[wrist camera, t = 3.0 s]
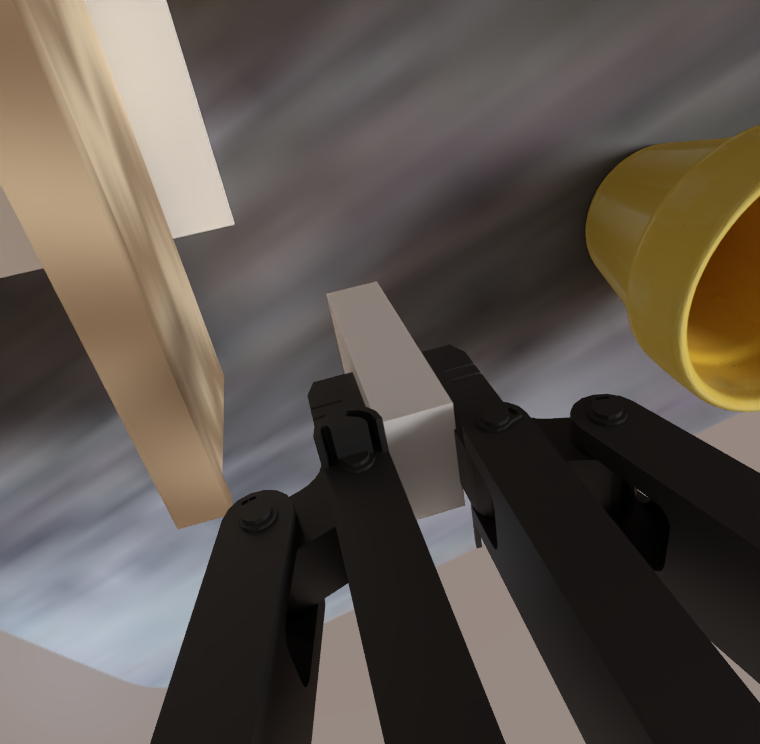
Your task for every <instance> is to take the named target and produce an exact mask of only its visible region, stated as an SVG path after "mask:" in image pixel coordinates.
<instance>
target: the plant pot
mask: <svg viewBox="0 0 760 744" xmlns="http://www.w3.org/2000/svg"><path fill="white" fill-rule="evenodd" d="M586 243H587V248H588V251H589V254H590V257H591V259H592V261H593V263H594V264H595V265H596V267H597V268H598V270H599V271H600V272H601V274H602V275H603V276H604V278H605V279H606V280H607V282H608V283H609V284H610V286H611V287H612V288H613V290H614V291H615V292H616V294H617V295H618V296H619V298H620V299H621V300H622V302H623V303H624V305H625V306H626V307H627V312H628V318H629V323H630V327H631V329H632V332H633V334H634V337H635V338H636V340H637V342H638V344H639V345H640V347H641V348H642V349H643V351H644V352H645V353H646V354H647V355H648V356H649V357H650V358H651V359H652V360H653V361H654V362H655V363H656V364H658V365H659V366H660V367H661V368H662V369H663V370H664V371H665V372H666V373H668V374H669V375H670V376H671V377H673V378H674V379H675V380H676V381H678V382H679V383H680V384H681V385H682V386H684V387H685V388H686V389H688V390H689V391H690V392H691V393H693V394H694V395H695V396H697V397H698V398H700V399H701V400H703V401H705V402H706V403H708V404H711V405H713V406H715V407H719V408H722V409H725V410H731V411H740V412H754V411H760V125H757V126H755V127H752V128H750V129H747V130H745V131H743V132H741V133H739V134H737V135H735V136H733V137H731V138H720V139H710V140H698V141H687V142H675V143H663V144H656V145H652V146H649V147H646V148H643V149H641V150H639V151H637V152H635V153H633V154H632V155H630V156H628V157H627V158H626V159H624V160H623V161H622V162H620V163H619V164H618V165H617V166H616V167H615V168H614V169H613V170H612V171H611V172H610V173H609V174H608V175H607V176H606V178H605V179H604V180H603V181H602V183H601V184H600V186H599V188H598V189H597V191H596V193H595V195H594V197H593V200H592V202H591V205H590V208H589V211H588V215H587V221H586Z"/></svg>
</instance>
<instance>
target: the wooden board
mask: <svg viewBox="0 0 760 744" xmlns="http://www.w3.org/2000/svg"><path fill="white" fill-rule="evenodd" d="M0 184H1V186H2V188H3V190H4V192H5V194H6V196H7V198H8V200H9V202H10V204H11V206H12V208H13V210H14V211H15V213H16V215H17V217H18V219H19V221H20V223H21V225H22V227H23V229H24V231H25V233H26V235H27V237H28V239H29V241H30V243H31V245H32V247H33V248H34V250H35V252H36V254H37V256H38V258H39V260H40V262H41V264H42V266H43V268H44V270H45V272H46V274H47V276H48V278H49V280H50V282H51V283H52V285H53V287H54V289H55V291H56V293H57V295H58V297H59V299H60V301H61V303H62V305H63V307H64V309H65V311H66V313H67V315H68V317H69V319H70V320H71V322H72V324H73V326H74V328H75V330H76V332H77V334H78V336H79V338H80V340H81V342H82V344H83V346H84V348H85V350H86V352H87V354H88V356H89V357H90V359H91V361H92V363H93V365H94V367H95V369H96V371H97V373H98V375H99V377H100V379H101V381H102V383H103V385H104V387H105V389H106V391H107V393H108V394H109V396H110V398H111V400H112V402H113V404H114V406H115V408H116V410H117V412H118V414H119V416H120V418H121V420H122V422H123V424H124V426H125V428H126V430H127V431H128V433H129V435H130V437H131V439H132V441H133V443H134V445H135V447H136V449H137V451H138V453H139V455H140V457H141V459H142V461H143V463H144V465H145V467H146V468H147V470H148V472H149V474H150V476H151V478H152V480H153V482H154V484H155V486H156V488H157V490H158V492H159V494H160V496H161V498H162V500H163V502H164V504H165V505H166V507H167V509H168V511H169V513H170V515H171V517H172V519H173V521H174V523H175V525H176V527H177V529H181V528H184V527H188V526H192V525H195V524H199V523H202V522H206V521H209V520H213V519H217V518H220V517H224V516H225V514H226V512H227V511H228V509H229V508H230V507H231V506H232V496H231V493H230V491H229V488H228V486H227V484H226V481H225V479H224V477H223V474H222V460H223V411H224V375H223V372H222V369H221V367H220V364H219V361H218V358H217V356H216V353H215V350H214V348H213V345H212V342H211V340H210V337H209V334H208V332H207V329H206V326H205V324H204V321H203V318H202V315H201V313H200V310H199V307H198V305H197V302H196V299H195V297H194V294H193V291H192V289H191V286H190V283H189V280H188V278H187V275H186V272H185V270H184V267H183V264H182V262H181V259H180V256H179V254H178V251H177V248H176V245H175V243H174V240H173V237H172V235H171V232H170V229H169V227H168V224H167V221H166V219H165V216H164V213H163V211H162V208H161V205H160V202H159V200H158V197H157V194H156V192H155V189H154V186H153V184H152V181H151V178H150V176H149V173H148V170H147V167H146V165H145V162H144V159H143V157H142V154H141V151H140V149H139V146H138V143H137V141H136V138H135V135H134V132H133V130H132V127H131V124H130V122H129V119H128V116H127V114H126V111H125V108H124V106H123V103H122V100H121V98H120V95H119V92H118V89H117V87H116V84H115V81H114V79H113V76H112V73H111V71H110V68H109V65H108V63H107V60H106V57H105V54H104V52H103V49H102V46H101V44H100V41H99V38H98V36H97V33H96V30H95V28H94V25H93V22H92V19H91V17H90V14H89V11H88V9H87V6H86V3H85V1H84V0H0Z"/></svg>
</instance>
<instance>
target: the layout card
mask: <svg viewBox="0 0 760 744" xmlns="http://www.w3.org/2000/svg"><path fill="white" fill-rule="evenodd" d="M84 1H85V3H86V6H87V9H88V11H89V14H90V17H91V19H92V22H93V25H94V28H95V30H96V33H97V36H98V38H99V41H100V44H101V46H102V49H103V52H104V54H105V57H106V60H107V63H108V65H109V68H110V71H111V73H112V76H113V79H114V81H115V84H116V87H117V89H118V92H119V95H120V98H121V100H122V103H123V106H124V108H125V111H126V114H127V116H128V119H129V122H130V124H131V127H132V130H133V132H134V135H135V138H136V141H137V143H138V146H139V149H140V151H141V154H142V157H143V159H144V162H145V165H146V167H147V170H148V173H149V176H150V178H151V181H152V184H153V186H154V189H155V192H156V194H157V197H158V200H159V202H160V205H161V208H162V211H163V213H164V216H165V219H166V221H167V224H168V227H169V229H170V232H171V235H172V237H173V239H174V238H178V237H182V236H187V235H191V234H196V233H200V232H204V231H209V230H213V229H218V228H222V227H226V226H231V225H234V220H233V216H232V213H231V210H230V207H229V203H228V200H227V197H226V194H225V190H224V187H223V184H222V181H221V177H220V174H219V171H218V168H217V164H216V161H215V158H214V154H213V151H212V148H211V145H210V141H209V138H208V135H207V132H206V128H205V125H204V122H203V119H202V115H201V112H200V109H199V106H198V102H197V99H196V96H195V93H194V89H193V86H192V83H191V79H190V76H189V73H188V70H187V66H186V63H185V60H184V57H183V53H182V50H181V47H180V44H179V40H178V37H177V34H176V31H175V27H174V24H173V21H172V17H171V14H170V11H169V8H168V4H167V1H166V0H84ZM42 268H43V266H42V264H41V262H40V260H39V258H38V256H37V254H36V252H35V250H34V248H33V247H32V245H31V243H30V241H29V239H28V237H27V235H26V233H25V231H24V229H23V227H22V225H21V223H20V221H19V219H18V217H17V215H16V213H15V211H14V210H13V208H12V206H11V204H10V202H9V200H8V198H7V196H6V194H5V192H4V190H3V188H2V186H1V184H0V278H3V277H7V276H12V275H16V274H20V273H25V272H29V271H34V270H38V269H42Z"/></svg>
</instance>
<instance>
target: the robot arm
mask: <svg viewBox="0 0 760 744" xmlns="http://www.w3.org/2000/svg"><path fill="white" fill-rule="evenodd" d="M326 295H327V300H328V304H329V308H330V312H331V317H332V321H333V325H334V329H335V334H336V338H337V342H338V346H339V351H340V355H341V359H342V364H343V368H344V372H345V374H343V375H339V376H335V377H332V378H328V379H324V380H320V381H317V382H313V384H312V387H311V389H310V391H309V394H308V399H309V404H310V408H311V413H312V417H313V422H314V426H315V428H314V435H313V437H314V441H315V444H316V448H317V451H318V455H319V458H320V461H321V465H322V466H321V469H320V472H319V473H318V475H317V476H316V478H315V479H314V480H313V481H312V482H311V483H310V484H309V485H308V486H306V487H305V488H303V489H302V490H300V491H299V492H297V493H295V494H293V495H292V496H290V497H288V495H287V494H284V493H282V492H279V491H277V490H263V491H259V492H255V493H251V494H249V495H247V496H245V497H243V498H241V499H240V500H238V501H237V502H236V503H235V504H234V505H233V506H231V507H230V508H229V509H228V511H227V512H226V514H225V516H224V518H223V520H222V522H221V525H220V528H219V531H218V535H217V538H216V541H215V544H214V547H213V550H212V553H211V556H210V559H209V563H208V566H207V569H206V572H205V575H204V578H203V581H202V584H201V587H200V590H199V594H198V597H197V600H196V603H195V606H194V609H193V612H192V615H191V618H190V621H189V625H188V628H187V631H186V634H185V637H184V640H183V643H182V646H181V649H180V653H179V656H178V659H177V662H176V665H175V668H174V671H173V674H172V677H171V680H170V684H169V687H168V690H167V693H166V696H165V699H164V702H163V705H162V709H161V712H160V715H159V718H158V721H157V724H156V727H155V730H154V733H153V737H152V739H151V743H150V744H311V741H312V731H313V721H314V711H315V701H316V691H317V681H318V672H319V662H320V652H321V642H322V632H323V623H324V613H325V598H326V597H327V596H329V595H331V594H332V593H334V592H335V591H337V590H338V589H340V588H341V587H343V586H344V585H346V584H347V583H349V587H350V592H351V596H352V601H353V605H354V609H355V614H356V618H357V623H358V627H359V631H360V636H361V640H362V645H363V649H364V653H365V658H366V662H367V667H368V671H369V676H370V680H371V685H372V689H373V693H374V698H375V702H376V706H377V711H378V715H379V720H380V725H381V729H382V733H383V737H384V742H385V744H506V743H505V741H504V738H503V736H502V734H501V731H500V729H499V726H498V723H497V721H496V718H495V716H494V713H493V711H492V708H491V706H490V703H489V701H488V698H487V696H486V693H485V691H484V688H483V686H482V683H481V681H480V678H479V676H478V673H477V671H476V668H475V666H474V663H473V661H472V658H471V656H470V653H469V651H468V648H467V646H466V643H465V641H464V638H463V636H462V633H461V631H460V629H459V626H458V623H457V621H456V618H455V616H454V613H453V611H452V608H451V605H450V603H449V601H448V598H447V596H446V593H445V590H444V588H443V586H442V583H441V580H440V578H439V575H438V573H437V570H436V568H435V565H434V563H433V560H432V558H431V555H430V553H429V550H428V548H427V545H426V543H425V540H424V538H423V535H422V533H421V530H420V528H419V525H418V523H417V520H418V519H421V518H424V517H428V516H431V515H434V514H438V513H441V512H444V511H448V510H451V509H455V508H458V507H461V506H465V501H464V492H463V489H464V491H465V493H466V494H467V496H468V498H469V500H470V502H471V509H472V518H473V527H474V536H475V542H476V547H477V548H480V547H482V543H481V538H482V540H483V542H484V544H485V546H486V548H487V550H488V552H489V554H490V555H491V558H492V560H493V561H494V563H495V565H496V567H497V569H498V571H499V573H500V575H501V577H502V579H503V581H504V583H505V585H506V587H507V589H508V591H509V593H510V595H511V597H512V599H513V601H514V603H515V605H516V607H517V609H518V611H519V613H520V615H521V617H522V618H523V621H524V622H525V624H526V626H527V628H528V630H529V632H530V634H531V636H532V638H533V640H534V642H535V644H536V646H537V648H538V650H539V652H540V654H541V656H542V658H543V660H544V662H545V663H546V666H547V668H548V670H549V672H550V674H551V676H552V678H553V679H554V681H555V684H556V685H557V687H558V689H559V691H560V693H561V695H562V697H563V699H564V701H565V703H566V705H567V707H568V709H569V711H570V713H571V715H572V717H573V719H574V721H575V723H576V725H577V727H578V729H579V731H580V733H581V734H582V737H583V739H584V741H585V743H586V744H760V703H759V701H758V700H757V699H756V698H755V696H754V695H753V694H752V693H751V691H750V690H749V689H748V688H747V686H746V685H745V684H744V683H743V681H742V680H741V679H740V678H739V676H738V675H737V674H736V673H735V672H734V670H733V669H732V668H731V667H730V665H729V664H728V663H727V661H726V660H725V659H724V658H723V656H722V655H721V654H720V653H719V651H718V650H717V649H716V648H715V646H714V645H713V644H715V645H716V646H717V647H718V648H719V649H720V650H721V651H723V652H724V653H725V654H726V655H727V656H728V657H730V658H731V659H732V660H733V661H734V662H735V663H736V664H738V665H739V666H740V667H741V668H742V669H743V670H744V671H745V672H747V673H748V674H749V675H750V676H751V677H753V678H754V679H755V680H756V681H757V682H758V683H759V684H760V473H759V472H756V471H755V470H753V469H752V468H750V467H748V466H746V465H745V464H743V463H741V462H739V461H737V460H736V459H734V458H732V457H730V456H728V455H727V454H725V453H723V452H722V451H720V450H718V449H716V448H714V447H713V446H711V445H709V444H708V443H705V442H704V441H702V440H700V439H699V438H697V437H695V436H693V435H692V434H690V433H688V432H686V431H685V430H683V429H681V428H679V427H678V426H676V425H674V424H672V423H671V422H669V421H667V420H665V419H664V418H662V417H660V416H658V415H656V414H655V413H653V412H651V411H649V410H648V409H646V408H644V407H642V406H641V405H639V404H637V403H635V402H634V401H631V400H629V399H626V398H624V397H621V396H616V395H610V394H599V395H591V396H588V397H585V398H582V399H580V400H579V401H578V402H576V403H575V404H574V405H573V407H572V409H571V412H570V418H553V419H536V418H531V417H530V416H529V415H528V414H527V412H525V411H524V410H523V409H522V408H520V407H519V406H517V405H514V404H511V403H508V402H503V401H502V400H501V398H500V397H499V396H498V395H497V393H496V392H495V391H494V389H493V388H492V387H491V385H490V384H489V383H488V382H487V380H486V379H485V378H484V376H483V375H482V374H480V371H479V370H478V369H477V367H476V366H475V365H474V364H473V362H472V361H471V359H470V358H469V357H468V355H467V354H466V353H465V352H464V351H462V350H460V349H458V348H455V347H453V346H451V345H447V346H443V347H439V348H436V349H432V350H428V351H424V352H421V351H420V350H419V348H418V346H417V345H416V343H415V342H414V340H413V338H412V337H411V335H410V334H409V332H408V330H407V329H406V327H405V326H404V324H403V322H402V321H401V319H400V318H399V316H398V314H397V313H396V311H395V310H394V308H393V306H392V305H391V303H390V302H389V300H388V298H387V297H386V295H385V294H384V292H383V290H382V289H381V287H380V286H379V284H378V282H377V281H376V282H372V283H368V284H364V285H360V286H356V287H352V288H348V289H344V290H339V291H335V292H331V293H327V294H326ZM637 489H638V490H639V491H641V492H642V493H643V494H645V495H646V496H645V495H643V494H642V493H640V492H639V491H638V490H637ZM647 496H648V497H647ZM710 641H711V642H712V643H713V644H712V643H711V642H710Z"/></svg>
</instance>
